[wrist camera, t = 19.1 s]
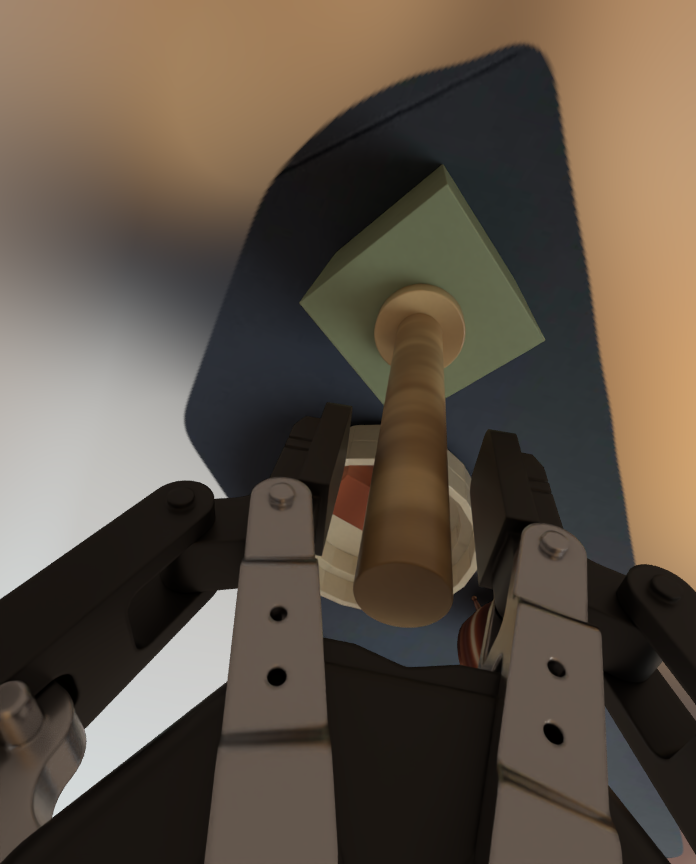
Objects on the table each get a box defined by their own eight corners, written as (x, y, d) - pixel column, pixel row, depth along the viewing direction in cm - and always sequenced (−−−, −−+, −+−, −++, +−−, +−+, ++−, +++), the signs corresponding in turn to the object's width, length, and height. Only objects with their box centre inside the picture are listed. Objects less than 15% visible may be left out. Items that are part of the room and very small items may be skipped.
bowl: (249, 478, 42) (228, 517, 38) (402, 382, 35) (398, 418, 31) (362, 588, 48) (356, 632, 43) (515, 525, 40) (524, 571, 36)
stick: (358, 319, 22) (264, 572, 10) (430, 263, 20) (426, 488, 8) (410, 382, 24) (385, 675, 11) (481, 335, 22) (547, 622, 9)
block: (329, 475, 40) (319, 507, 36) (354, 442, 38) (346, 474, 34) (369, 498, 40) (363, 532, 37) (396, 468, 38) (393, 501, 35)
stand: (335, 253, 31) (298, 302, 22) (443, 163, 27) (447, 182, 19) (408, 349, 33) (399, 425, 25) (514, 279, 30) (545, 340, 22)
